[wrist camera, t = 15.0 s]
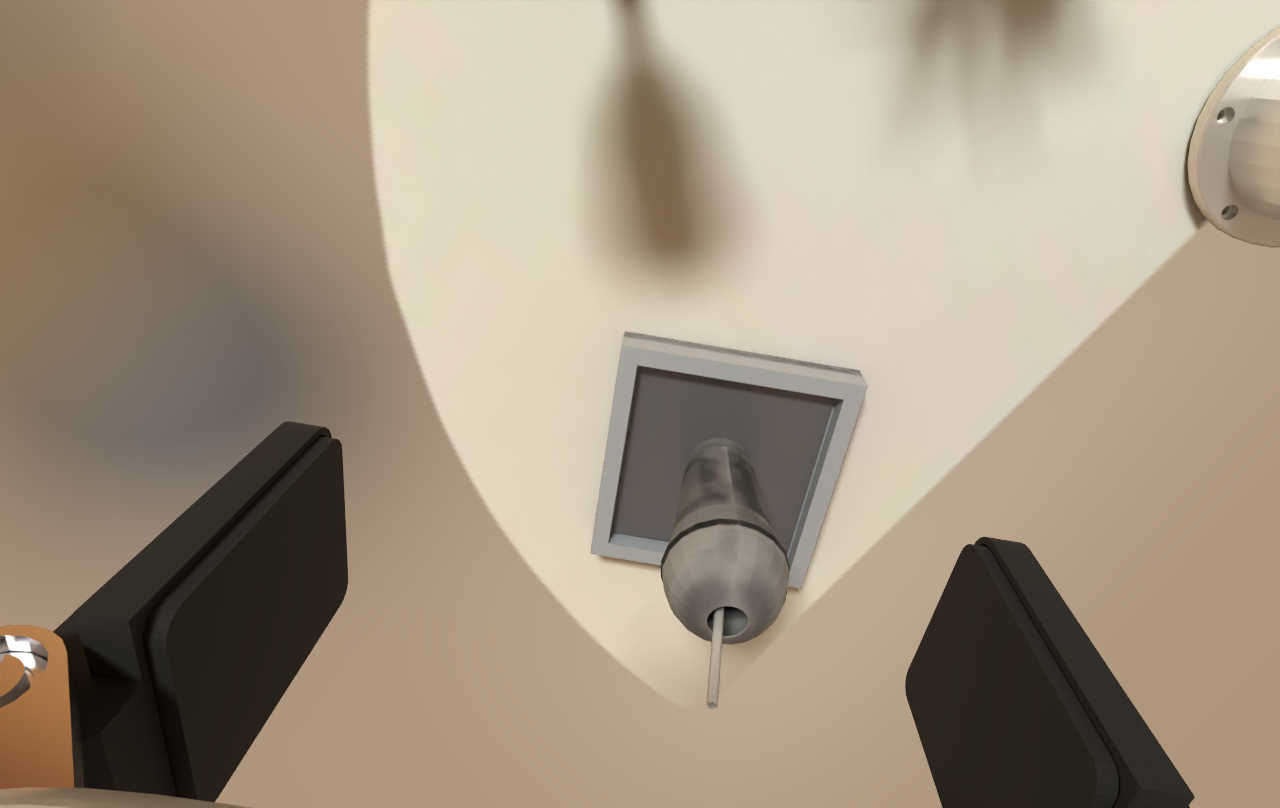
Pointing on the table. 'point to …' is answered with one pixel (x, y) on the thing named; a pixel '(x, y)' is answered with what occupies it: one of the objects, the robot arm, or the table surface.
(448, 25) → the table surface
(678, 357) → the tray
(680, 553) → the beverage cup
